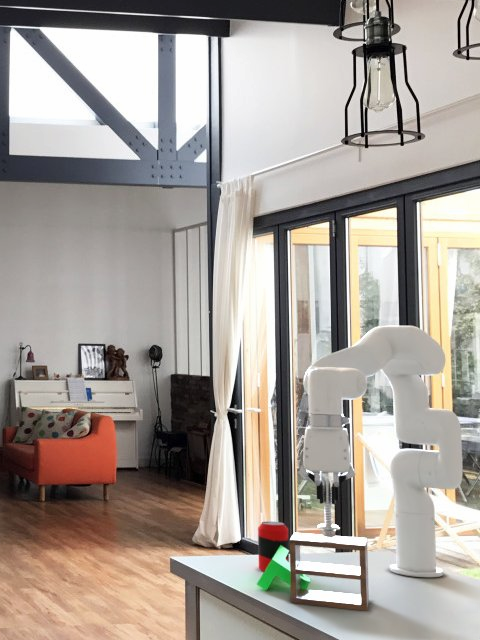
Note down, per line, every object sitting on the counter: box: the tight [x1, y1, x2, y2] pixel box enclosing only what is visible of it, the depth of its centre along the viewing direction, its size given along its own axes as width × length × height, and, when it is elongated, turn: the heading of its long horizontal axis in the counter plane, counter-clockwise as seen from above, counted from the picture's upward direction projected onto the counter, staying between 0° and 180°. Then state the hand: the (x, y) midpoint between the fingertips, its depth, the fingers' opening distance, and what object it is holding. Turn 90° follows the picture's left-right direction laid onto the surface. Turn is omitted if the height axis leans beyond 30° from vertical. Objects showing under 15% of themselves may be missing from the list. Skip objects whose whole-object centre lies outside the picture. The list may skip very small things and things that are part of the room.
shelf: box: [289, 532, 370, 612], centre depth 230 cm, size 10×16×14 cm, turn 66°
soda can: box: [257, 520, 290, 573], centre depth 264 cm, size 8×8×12 cm
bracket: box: [256, 545, 312, 591], centre depth 248 cm, size 20×10×7 cm
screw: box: [316, 478, 341, 537], centre depth 232 cm, size 13×5×5 cm
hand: (327, 502), depth 232 cm, fingers closed on screw, 2 cm apart
